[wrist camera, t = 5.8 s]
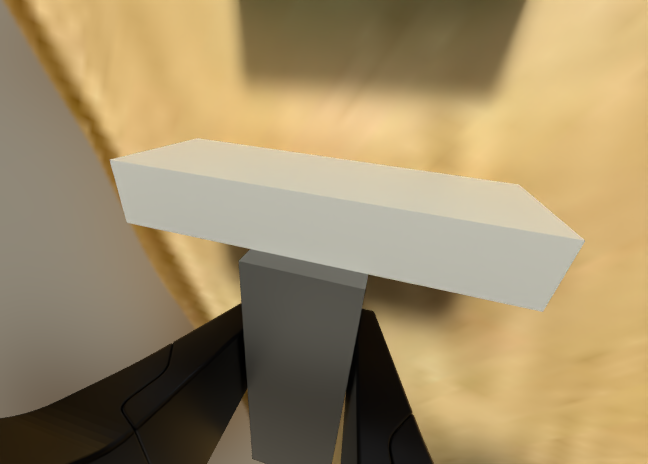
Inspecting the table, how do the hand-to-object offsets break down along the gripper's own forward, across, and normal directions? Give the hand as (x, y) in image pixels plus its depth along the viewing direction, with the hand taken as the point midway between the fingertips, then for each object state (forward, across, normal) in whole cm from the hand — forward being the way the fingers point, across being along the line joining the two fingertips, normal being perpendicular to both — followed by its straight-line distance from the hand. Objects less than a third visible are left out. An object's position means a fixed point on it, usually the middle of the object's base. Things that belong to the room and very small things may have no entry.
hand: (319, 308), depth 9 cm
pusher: (+1, 0, 0) cm, 1 cm away
